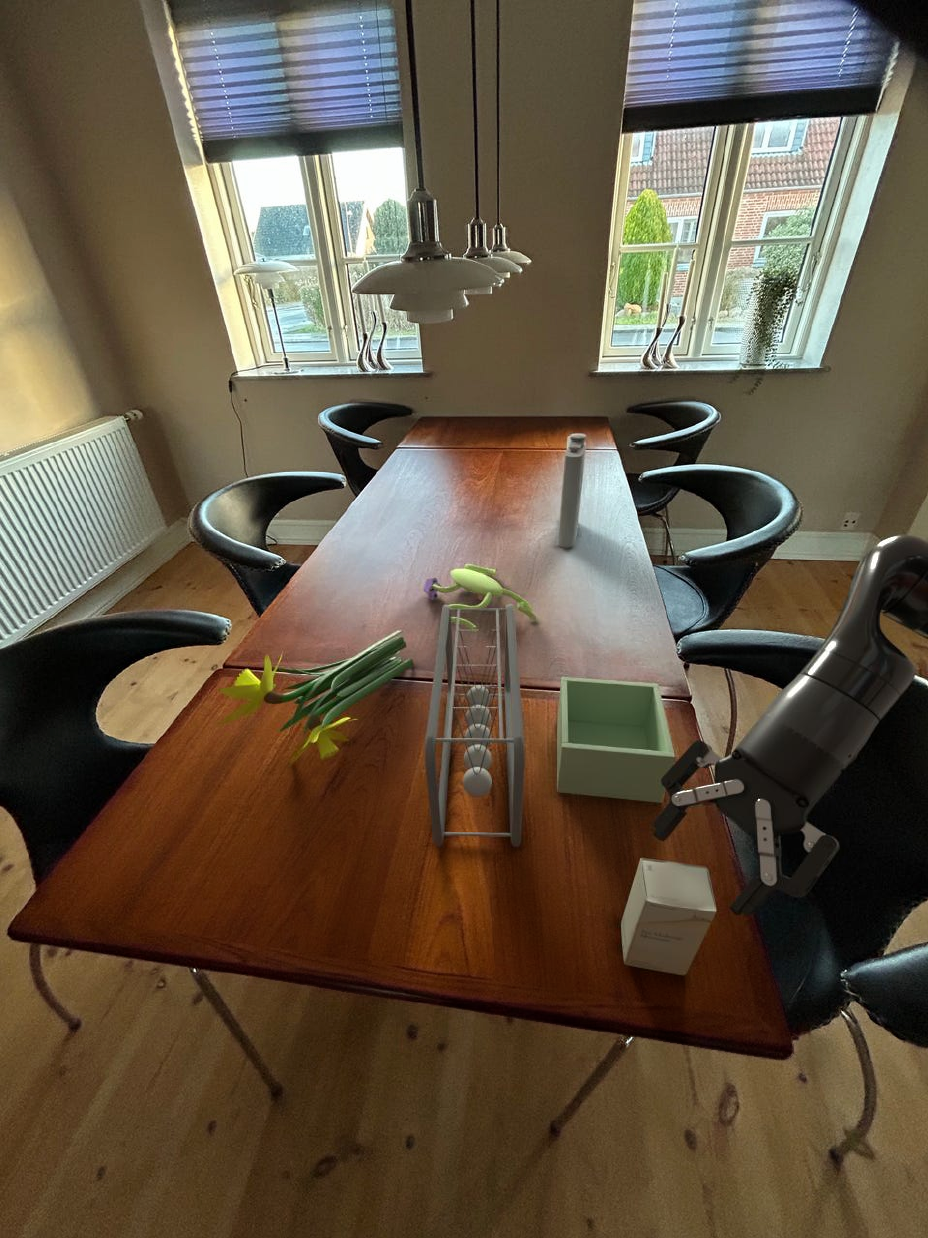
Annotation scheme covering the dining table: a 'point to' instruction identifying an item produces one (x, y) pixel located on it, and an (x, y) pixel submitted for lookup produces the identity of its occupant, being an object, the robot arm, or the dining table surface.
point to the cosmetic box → (666, 915)
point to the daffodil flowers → (323, 690)
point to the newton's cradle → (476, 727)
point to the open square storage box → (612, 739)
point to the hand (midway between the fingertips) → (694, 873)
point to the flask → (571, 489)
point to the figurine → (475, 591)
